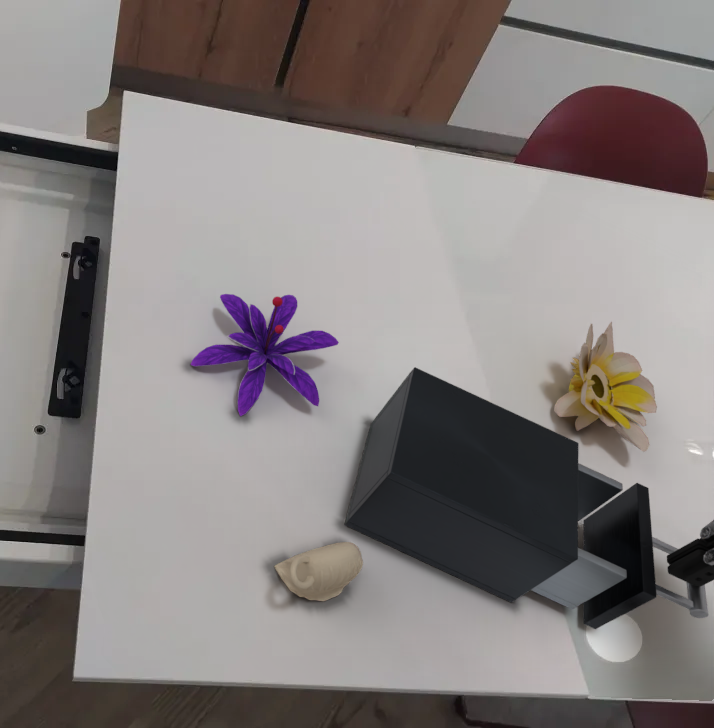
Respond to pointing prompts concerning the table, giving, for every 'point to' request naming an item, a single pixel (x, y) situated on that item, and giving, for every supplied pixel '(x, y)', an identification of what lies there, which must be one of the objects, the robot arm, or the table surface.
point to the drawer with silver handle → (614, 556)
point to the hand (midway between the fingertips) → (681, 571)
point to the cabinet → (468, 488)
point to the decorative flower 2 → (608, 390)
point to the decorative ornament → (321, 570)
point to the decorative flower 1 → (265, 348)
